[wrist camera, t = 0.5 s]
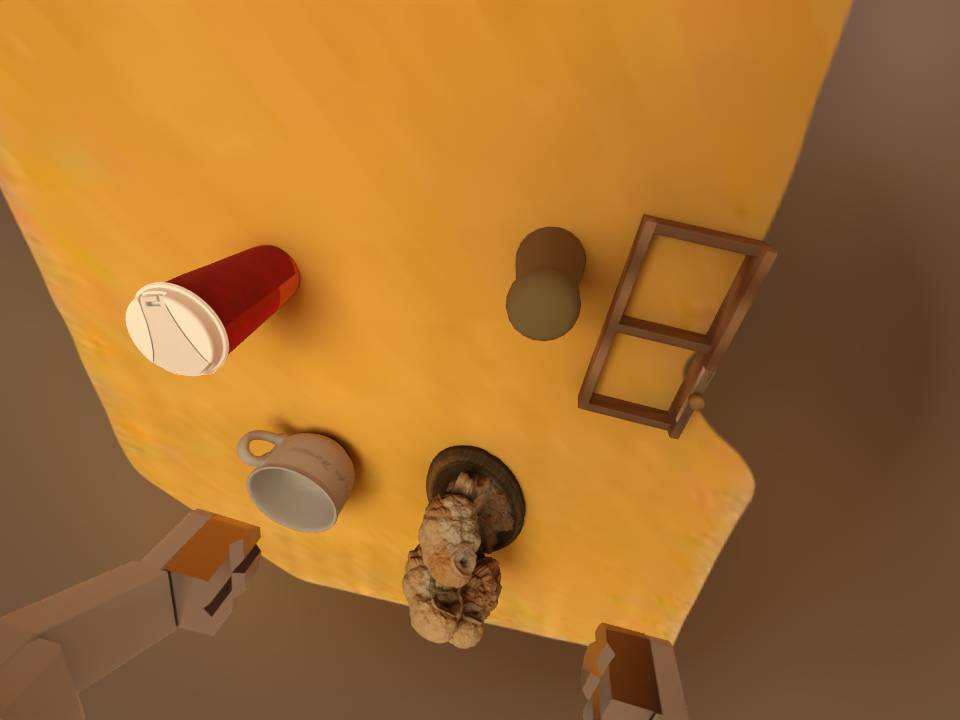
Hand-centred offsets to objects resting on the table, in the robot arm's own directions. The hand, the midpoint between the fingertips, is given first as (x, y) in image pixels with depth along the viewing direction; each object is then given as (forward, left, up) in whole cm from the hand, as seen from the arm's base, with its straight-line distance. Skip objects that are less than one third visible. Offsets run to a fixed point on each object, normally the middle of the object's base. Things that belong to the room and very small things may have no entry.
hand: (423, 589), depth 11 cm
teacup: (+33, -20, -34) cm, 51 cm away
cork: (+3, +2, -34) cm, 34 cm away
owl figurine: (+35, +1, -34) cm, 48 cm away
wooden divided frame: (+7, +13, -33) cm, 36 cm away
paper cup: (+11, -24, -34) cm, 43 cm away
